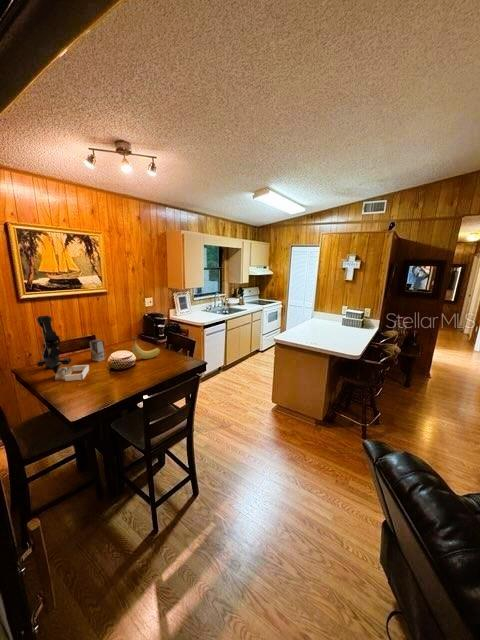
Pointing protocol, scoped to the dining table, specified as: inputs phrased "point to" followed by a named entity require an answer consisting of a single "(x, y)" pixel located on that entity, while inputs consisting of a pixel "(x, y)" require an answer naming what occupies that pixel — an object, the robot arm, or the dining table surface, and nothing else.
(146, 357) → the banana
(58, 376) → the crate with rolls
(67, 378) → the beige u-shaped block
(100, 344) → the coffee box
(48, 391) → the dining table surface
